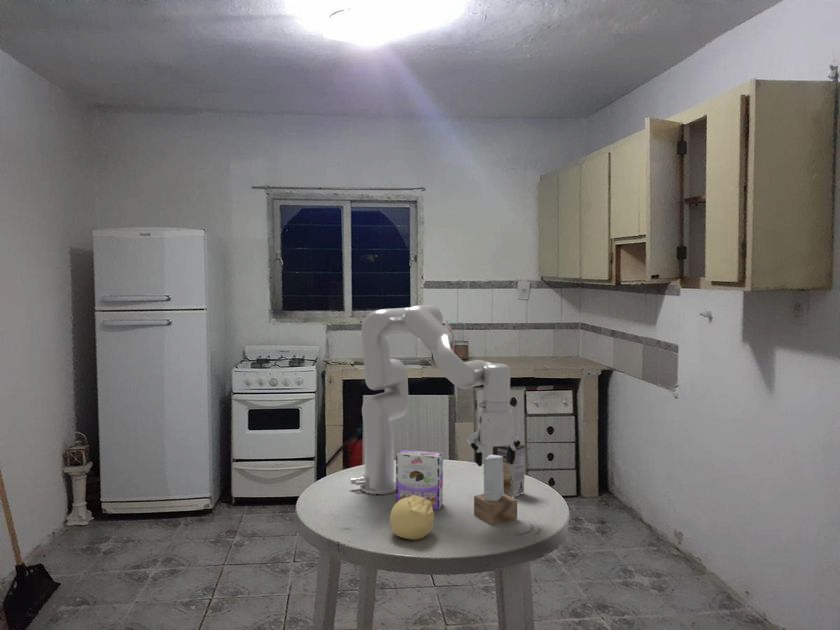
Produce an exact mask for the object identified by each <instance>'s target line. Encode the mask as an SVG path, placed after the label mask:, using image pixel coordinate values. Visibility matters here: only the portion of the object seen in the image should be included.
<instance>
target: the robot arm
mask: <svg viewBox="0 0 840 630" xmlns="http://www.w3.org/2000/svg"><path fill="white" fill-rule="evenodd" d="M443 319H444V316H443V314H442V311H441V310H440V309H439V308H438V307H437V306H435V305H432V304H422V305H421V304H419V305H414V306H411V307H410V306H409V307H397V308H396V307H395V308H383V309H377V310H374V311H372V312H370V313H368V314H367V315H366V317H365V318H364V319H363V321H362V325H361V330H360V331H361V332H360V333H361V340H362V347H363V366H364V382H365V384H366V386H367V388H368V389H370V390H372V391H380V390H384V392H380V393H377V394H373V395H370V396H369V397H367V398H366V399H365V400H364V402H363V403H362V406H361V415H362V419H363V420H362V421H363V425H364V426H363V427H364V473H362V476H360V477H351V478H350V484H351V485H355V486H360V487H359V488H360V490H362V491H361V492H363V491H364V492H363V493H365V492H366V493H365V494H368V493H369V494H368V495H376V494H379V495H381V494H382V495H389V494H393V493H396V481H394V480H395V473H394V472H395V471H394V470H395V467H394V465H395V463H394V462H395V461H394V460H395V448H394V447H395V444H394V443H395V442H394V441H395V440H394V439H395V438H394V437H395V436H394V430H393V428H392V425H391V421H394V420H398V419H400V418H402V417H403V416H405V415H406V413H407V412H408V409H409V403H410V402H409V401H410V400H409V383H408V380H409V379H408V372H407V371H408V370H407V369H406V366H405V365H404V363H403V362H402V361H401V360H399V359H396V358H391V356H390V355H391V354H390V353H391V352H390V345H389V343H388V341H387V338H386V336H390V335H391V336H392V335H393V336H394V335H402V334H409V333H411V334H412V335H413V336H414V337H415V338H416V339H417V340H418V341H420V342H421V343H422V344H423V346H425V347H426V348H427V349H428V350H429V351H430V352H431V353H432V357H433V360H434V362H435V365H436V367H437V369H438V370H439V372H440V374H442V375H443V377H445V378H446V379H447V380H448V381H449V382H451V383H452V384H453V385H454V386H456V387H457V388H460V389H464V390H466V389H470V388H474V387H479V386H483V400H482V402H479V403H478V408H482V409H481V410H480V414H479V418H478V424H477V425H478V426H477V430H476V431H475V432H472V433H471V434H469V435H467V436H466V440H467V442H468V444H469V446H470V447H471V448H472V449H473V451H474V462H475V464H476V465H477V466H479V467H482V466H483V452H482V451H483V449H484V448H485V447H486V448H493V447H497V446H508V447H509V448H508V449H507V462H508V463H510V464H513V460H514V451H515V450H516V448H517V447H518V446H519V445H521V442H522V440H523V438H524V435H523V434H522V433H521V432H518V431H516V430H515V425H514V417H513V415H514V414H513V411H512V410H510V398H511V396H510V395H511V394H510V393H511V367H510V366H509V365H507V364H505V363H497V362H496V363H495V362H494V363H493V362H489V361H486V360H483V359H475V360H470V361H463V359H461V358H460V357H459V356H458V355H457V354H456V353H455V352H454V351H453V348H451V345H450V344H451V343H452V341H453V338H454V337H453V334H452V331H450V330H449V329H448V328H447V327H446V326H445V325H443ZM515 436H516V438H515ZM475 439H477V443H475V441H474V440H475Z"/></svg>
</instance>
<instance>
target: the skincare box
mask: <svg viewBox="0 0 840 630" xmlns="http://www.w3.org/2000/svg"><path fill="white" fill-rule="evenodd" d="M483 494H484V500H490V501H498V500H499V499H500V498H501V497H502V496H503V495H504V486H503V456H499V455H493V454H488V456H487V457H486V458H484V459H483Z"/></svg>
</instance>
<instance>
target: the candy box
mask: <svg viewBox="0 0 840 630" xmlns="http://www.w3.org/2000/svg"><path fill="white" fill-rule="evenodd" d="M395 465H396V466H395V477H396V478H395V480H396V481H395V482H396V491H395V493H396V497H395V498H396V500H395V502H396V503H397V502H398V501H399V500H401V499H403V498H406V497H410V496H412V495H415V496H419V497H424V498H425V499H427V500H429V501H431V503H432V508H433V510H437V511H439V510H440V509H441V507H443V505H444V452H440V451H439V452H436V451H426V450H425V451H424V450H423V451H421V450H410V449H400V450H399V452H397V453H396V454H395ZM396 503H395V504H396Z"/></svg>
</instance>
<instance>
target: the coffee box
mask: <svg viewBox="0 0 840 630" xmlns="http://www.w3.org/2000/svg"><path fill="white" fill-rule="evenodd" d="M508 448H509V447H508V446H497V447H492V455H499V456H503V486H504V494H506V495H508V496H510V497H515V498H517V497H518V496H517V495H519V494H521V493H523V492H524V493H525V471H526V465H525V464H526V445H523V444H520V445H519V446H518V447H517V448H516V450H515V451H514V460H513V464H510V463H508V462H507V449H508ZM516 496H517V497H516Z"/></svg>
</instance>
